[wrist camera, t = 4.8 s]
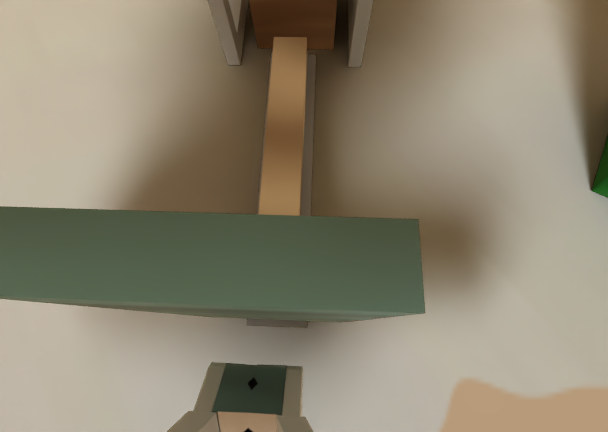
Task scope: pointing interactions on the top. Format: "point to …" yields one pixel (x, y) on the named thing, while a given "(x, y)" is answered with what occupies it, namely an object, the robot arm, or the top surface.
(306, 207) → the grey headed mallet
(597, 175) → the milk carton
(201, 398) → the robot arm
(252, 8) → the walnut block
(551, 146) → the top surface
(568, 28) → the top surface
